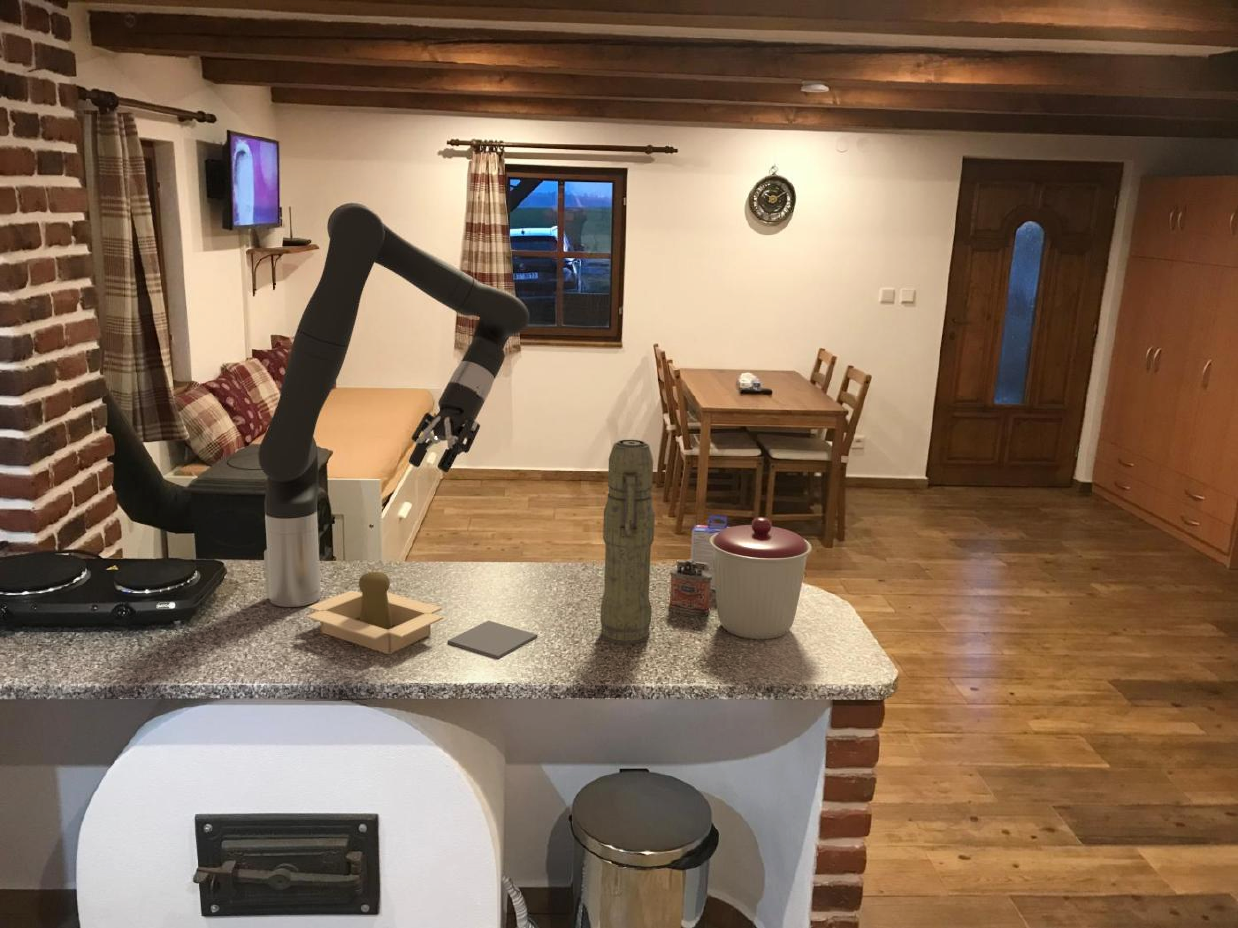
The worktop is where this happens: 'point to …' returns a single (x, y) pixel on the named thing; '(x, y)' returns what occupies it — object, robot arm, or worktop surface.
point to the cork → (375, 600)
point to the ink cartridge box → (706, 544)
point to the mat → (492, 639)
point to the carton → (342, 624)
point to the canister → (758, 578)
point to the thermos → (628, 544)
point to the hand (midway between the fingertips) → (427, 467)
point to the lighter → (690, 588)
